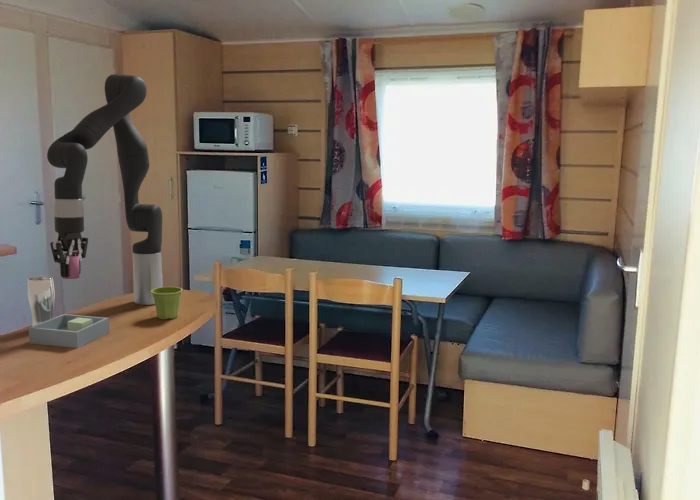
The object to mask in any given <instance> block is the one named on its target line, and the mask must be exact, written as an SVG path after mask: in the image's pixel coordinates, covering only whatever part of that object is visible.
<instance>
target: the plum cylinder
mask: <svg viewBox="0 0 700 500" xmlns="http://www.w3.org/2000/svg"><path fill="white" fill-rule="evenodd" d="M65 257H66V256H64V259H65ZM79 278H80V274H79V256H76V255H75V256H70V259H69V277H67V278H66V277H62V279H64V280H75V279H79Z"/></svg>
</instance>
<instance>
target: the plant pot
mask: <svg viewBox="0 0 700 500" xmlns="http://www.w3.org/2000/svg"><path fill="white" fill-rule="evenodd" d="M182 292H183V288H182V287H179V286H178V287H177V286H163V287H160V288H155V289H153V290H151V293H152V294H153V297H154V300H155V304H154V305H155V311H156V316H157V318H158V319H161V320H168V319H176V318H177V317H179V307H180V299H181V296H182Z"/></svg>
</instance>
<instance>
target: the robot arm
mask: <svg viewBox="0 0 700 500" xmlns="http://www.w3.org/2000/svg"><path fill="white" fill-rule="evenodd" d="M104 95H105V99H106V104H105V105H103V106H101V107H99V108H97V109H95V110H93V111H92V112H90V113H88V114H87V115H86V116H84V117H82V119H81V120H80V121H79V122H78V123H77V124H76V126H75V127H74V128H73V129H72V130H70V131H68V132H66V133H65V134H64V135H61V136H60V137H58V138H57V139H56V140H55V141H54V142H52V144H51V145H50V146H49V147H48V149H47V152H46V158H47V161H48V163H49V164H50V165H51V166H53V167H55V168H57V169H65V171H64V175H63V176H60V177H57V178H56V179H55V180H54V205H53V214H54V215H53V216H54V232H55V233H57V240H56V241H51V242H50V249H51V252H52V257H53V261H54V263H58V264H59V267H60V268H59V269H60V277H61V278H63V277H66V278H67V277H69V259H70V256H79V275H80V274H81V271H82V269H81V262H82V260H83V259H85V258H86V257H87V249H88V245H89V244H88V243H89V238H88V237H83V236H82V233H83V232H85V220H84V219H85V214H84V212H85V211H84V203H83V181H84V178H85V174H86V170H87V167H88V161H89V160H88V158H89V157H88V153H87V150H90V149H92V148H94V146H96V144H97V143H99V141H100V140H101V139H102V138H103V137H104V136H105V134H106V133H107V132H108V131H110V130H111V128H113V132H114V138H115V145H116V152H117V158H118V165H119V168H120V169H119V170H120V173H121V174H120V175H121V180H122V181H121V182H122V188H123V198H124V200H123V201H124V214H125V221H126V225H127V227H128V229H129V230H130V231H131V232H139V233H141V232H142V233H147V236H146V238H145V239H143V240H140V241H137V242H134V243H133V244H132V249H131V251H132V270H133V271H132V272H133V275H132V277H133V300H134V301H133V302H134V304H136V305H142V306H145V305H146V306H148V305H155V300H154V297H153V294H152V293H151V290H153V289H155V288H160V287H164V285H163V283H164V282H163V281H164V280H163V279H164V278H163V270H162V268H163V267H162V266H163V264H162V263H163V261H162V245H163V244H162V243H163V211H162V209H161V207H160V206H159V205H158V204H149V203H147V204H146V203H144V204H143V203H140V202H139V192H140V188H141V186H142V183H143V181H144V180H145V178H146V176H147V174H148V171H149V169H150V158H149V151H148V147H147V146H148V145H147V143H146V141H145V140H144V137H142V134H141V133H140V132H139V130H138V129H137V128H136V126H135V124H134V123H133V121H132V119H131V117H130V113H132V111H134V110H136V109H137V108H138V107H140V105H142V103H143V102H144V101H145V99H146V98H147V85H146V83H145V80H143V78H141V77H139V76H138V75H137V76H136V75H130V74H119V73H117V74H115V73H113V74H110V75H108V76H107V78H106V79H105V82H104ZM64 256H66V257H65V259H64Z"/></svg>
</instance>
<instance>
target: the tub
mask: <svg viewBox="0 0 700 500" xmlns="http://www.w3.org/2000/svg"><path fill="white" fill-rule="evenodd" d="M75 318H89V319H93V324H91V325H89V326H87V327H85V328H82V329H80V330H78V331H68V326H67V322H68V321H71V320H73V319H75ZM109 333H110V317H103V316H90V315H79V314H68V313H63V314H61V315H57V316H55V317H53V318H52V319H50V320H47V321H44V322H42V323H39V324H37V325H34V326H32V325H31V326H30V327H28V339H29V340H28V342H29V344H33V345H34V344H35V345H45V346H54V347H64V348H73V349H79V348H81V347H83V346H85V345H88V344H89V343H92V342H94V341H95V340H97V339H99V338H101V337H103V336H105V335H107V334H109Z"/></svg>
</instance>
